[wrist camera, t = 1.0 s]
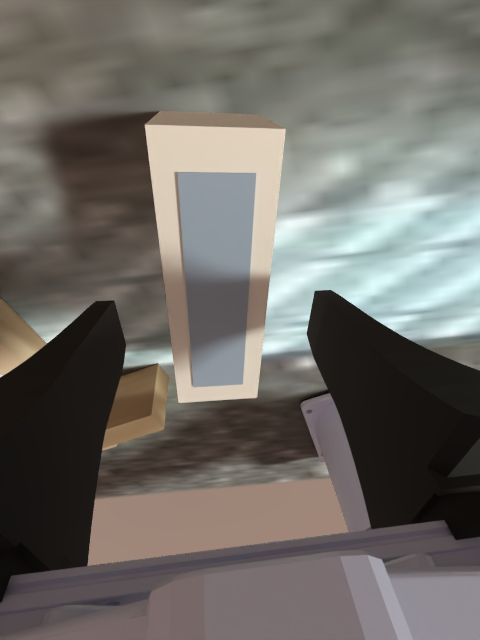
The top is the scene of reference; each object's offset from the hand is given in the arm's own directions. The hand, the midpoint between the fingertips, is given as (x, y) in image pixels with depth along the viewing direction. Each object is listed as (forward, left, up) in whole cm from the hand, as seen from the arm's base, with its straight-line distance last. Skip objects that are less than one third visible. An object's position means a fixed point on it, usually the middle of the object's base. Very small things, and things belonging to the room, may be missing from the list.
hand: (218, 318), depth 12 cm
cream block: (0, 0, -6) cm, 6 cm away
